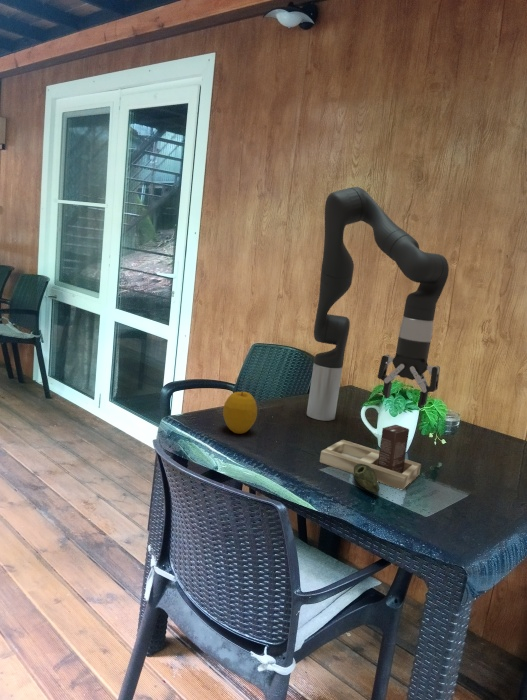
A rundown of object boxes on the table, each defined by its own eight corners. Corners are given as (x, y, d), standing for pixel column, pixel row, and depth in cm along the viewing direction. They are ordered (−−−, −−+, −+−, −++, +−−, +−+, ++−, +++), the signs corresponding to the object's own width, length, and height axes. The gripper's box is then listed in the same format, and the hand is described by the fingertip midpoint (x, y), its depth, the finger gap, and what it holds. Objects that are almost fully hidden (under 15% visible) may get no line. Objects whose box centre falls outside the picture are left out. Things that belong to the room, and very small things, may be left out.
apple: (231, 423, 168) (236, 384, 165) (260, 431, 164) (265, 392, 161) (214, 431, 159) (219, 390, 157) (244, 440, 155) (250, 398, 153)
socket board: (340, 449, 157) (342, 439, 156) (419, 475, 146) (421, 464, 145) (319, 462, 146) (321, 451, 145) (402, 490, 135) (404, 478, 134)
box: (388, 468, 147) (395, 423, 144) (403, 474, 144) (411, 429, 141) (374, 472, 143) (382, 427, 140) (389, 479, 139) (397, 432, 137)
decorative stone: (336, 480, 136) (340, 461, 135) (357, 475, 141) (360, 456, 140) (373, 500, 128) (377, 479, 127) (394, 493, 133) (397, 473, 132)
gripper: (381, 332, 137) (370, 397, 140) (440, 344, 130) (427, 412, 133) (391, 330, 143) (381, 392, 146) (448, 341, 136) (436, 406, 139)
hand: (403, 402), depth 139 cm, fingers open, 8 cm apart
